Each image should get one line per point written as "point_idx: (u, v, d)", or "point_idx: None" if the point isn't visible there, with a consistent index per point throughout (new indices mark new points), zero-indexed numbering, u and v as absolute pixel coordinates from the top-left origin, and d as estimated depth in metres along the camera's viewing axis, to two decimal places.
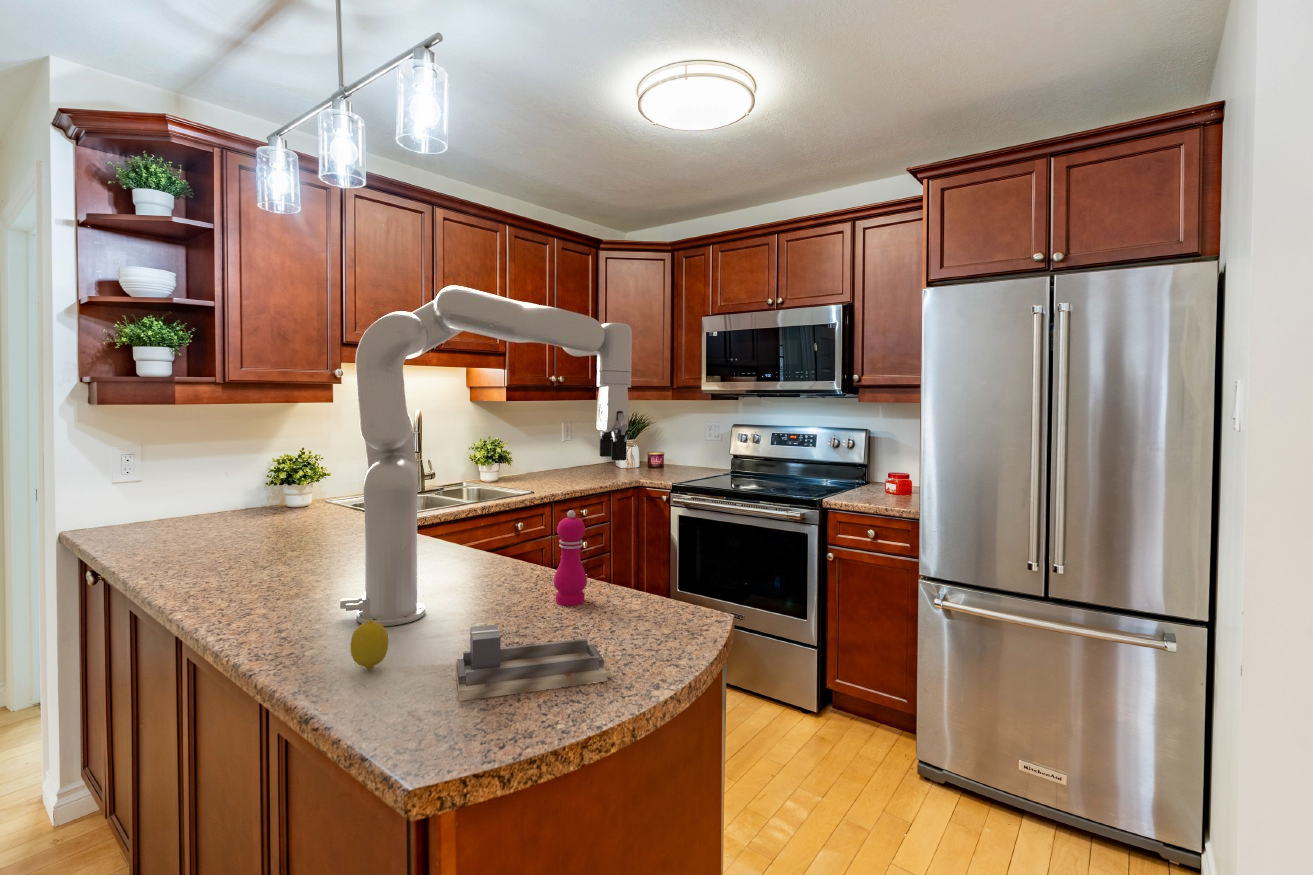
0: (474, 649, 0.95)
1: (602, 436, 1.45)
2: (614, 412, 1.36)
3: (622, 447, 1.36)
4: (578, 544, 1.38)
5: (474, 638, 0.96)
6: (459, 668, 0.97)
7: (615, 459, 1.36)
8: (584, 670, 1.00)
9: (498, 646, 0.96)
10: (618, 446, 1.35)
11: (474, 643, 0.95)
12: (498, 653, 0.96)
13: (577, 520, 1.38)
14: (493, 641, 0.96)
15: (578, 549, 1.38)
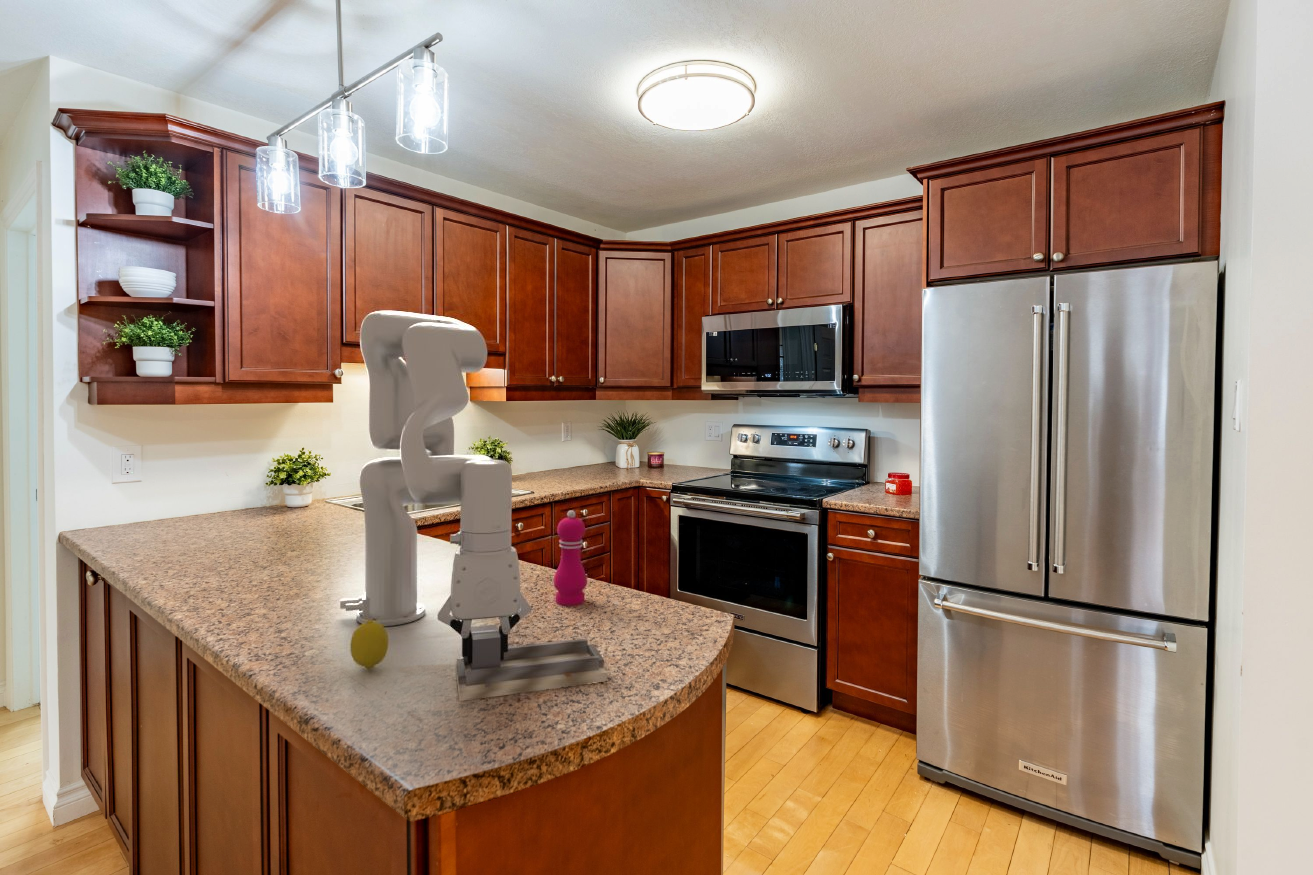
0: (474, 649, 0.95)
1: (469, 631, 0.97)
2: None
3: None
4: (578, 544, 1.38)
5: (474, 638, 0.96)
6: (459, 668, 0.97)
7: None
8: (584, 670, 1.00)
9: (498, 646, 0.96)
10: None
11: (474, 643, 0.95)
12: (498, 653, 0.96)
13: (577, 520, 1.38)
14: (493, 641, 0.96)
15: (578, 549, 1.38)
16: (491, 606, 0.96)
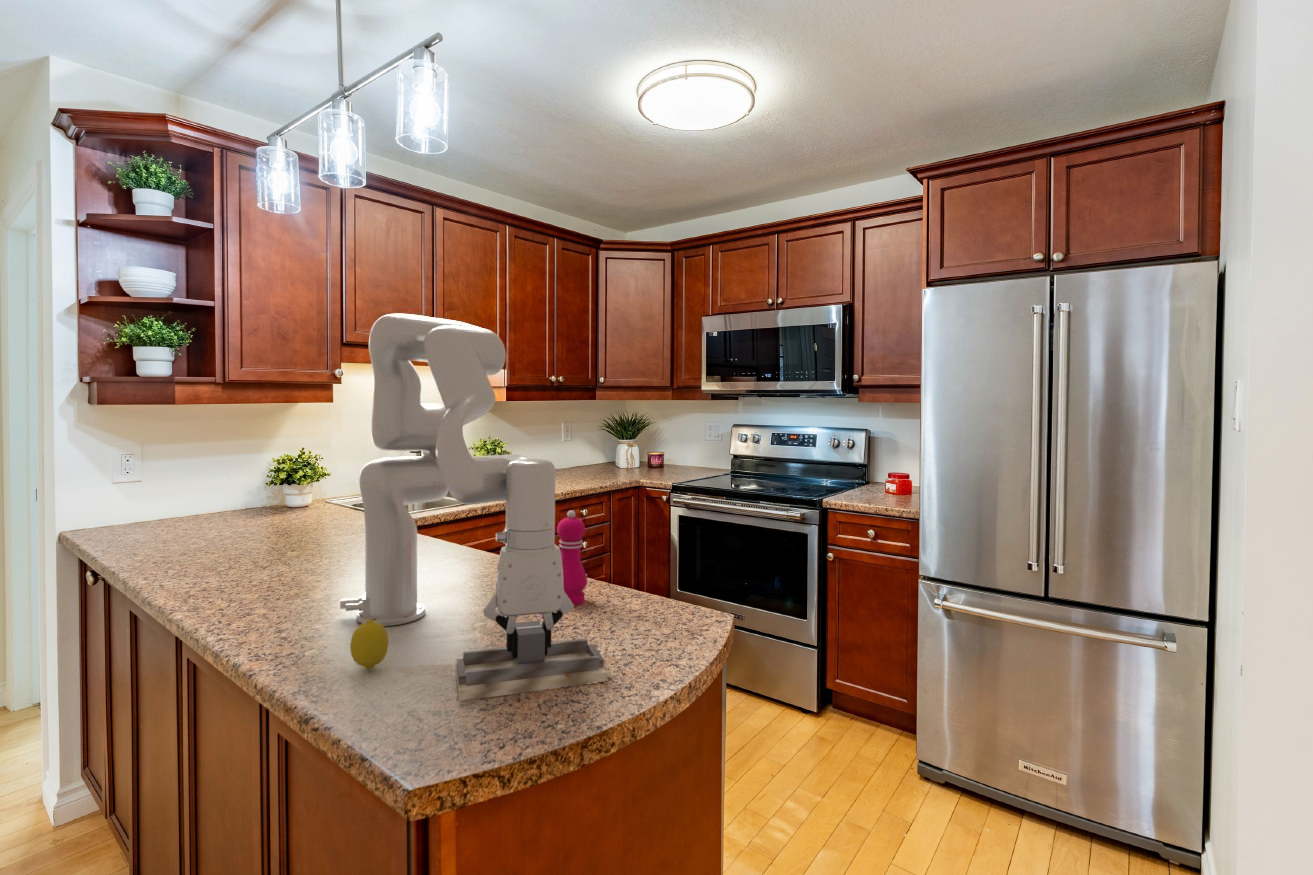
0: (520, 644, 0.97)
1: (514, 626, 0.99)
2: None
3: None
4: (578, 544, 1.38)
5: (519, 634, 0.98)
6: (459, 668, 0.97)
7: None
8: (584, 670, 1.00)
9: (542, 641, 0.99)
10: None
11: (520, 638, 0.97)
12: (542, 648, 0.99)
13: (577, 520, 1.38)
14: (537, 637, 0.98)
15: (578, 549, 1.38)
16: (536, 602, 0.98)
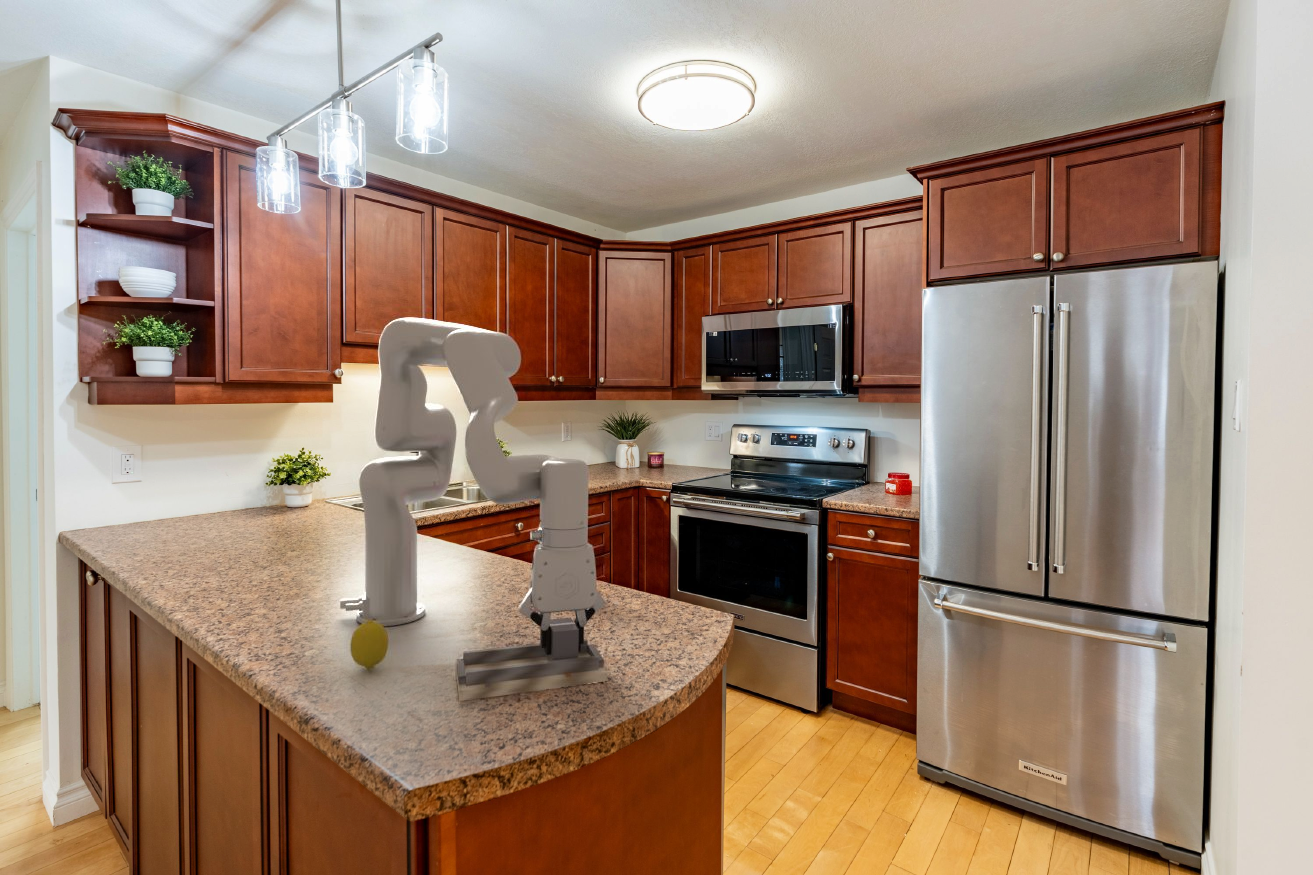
0: (554, 641, 0.99)
1: None
2: None
3: None
4: None
5: (554, 630, 1.00)
6: (459, 668, 0.97)
7: None
8: (584, 670, 1.00)
9: (576, 638, 1.00)
10: None
11: (554, 635, 0.99)
12: (576, 645, 1.00)
13: None
14: (571, 633, 1.00)
15: None
16: (570, 599, 1.00)
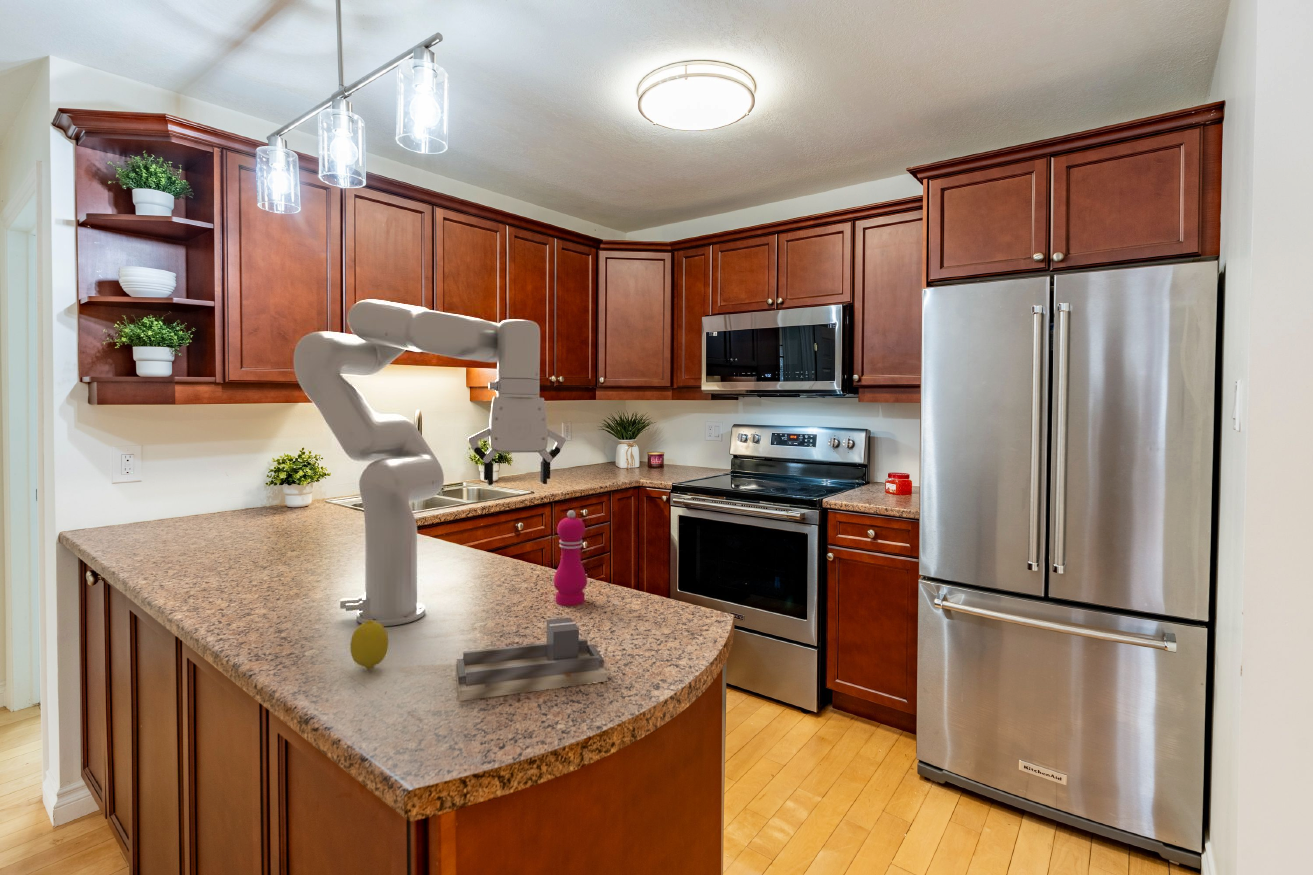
0: (554, 641, 0.99)
1: (490, 459, 1.14)
2: (546, 428, 1.17)
3: None
4: (578, 544, 1.38)
5: (554, 630, 1.00)
6: (459, 668, 0.97)
7: None
8: (584, 670, 1.00)
9: (576, 638, 1.00)
10: None
11: (554, 635, 0.99)
12: (576, 645, 1.00)
13: (577, 520, 1.38)
14: (572, 633, 1.00)
15: (578, 549, 1.38)
16: (523, 442, 1.14)
